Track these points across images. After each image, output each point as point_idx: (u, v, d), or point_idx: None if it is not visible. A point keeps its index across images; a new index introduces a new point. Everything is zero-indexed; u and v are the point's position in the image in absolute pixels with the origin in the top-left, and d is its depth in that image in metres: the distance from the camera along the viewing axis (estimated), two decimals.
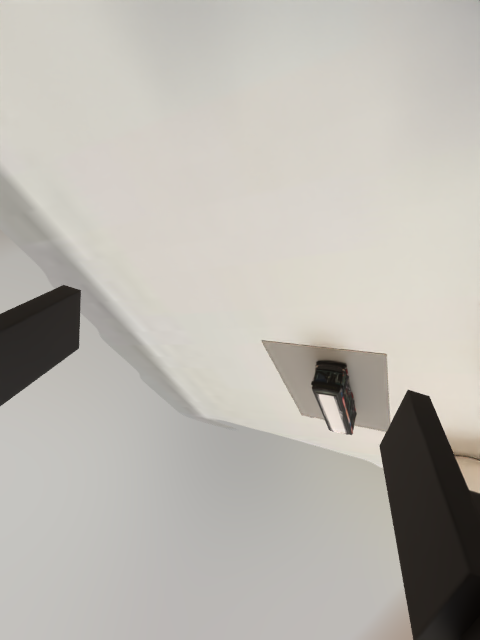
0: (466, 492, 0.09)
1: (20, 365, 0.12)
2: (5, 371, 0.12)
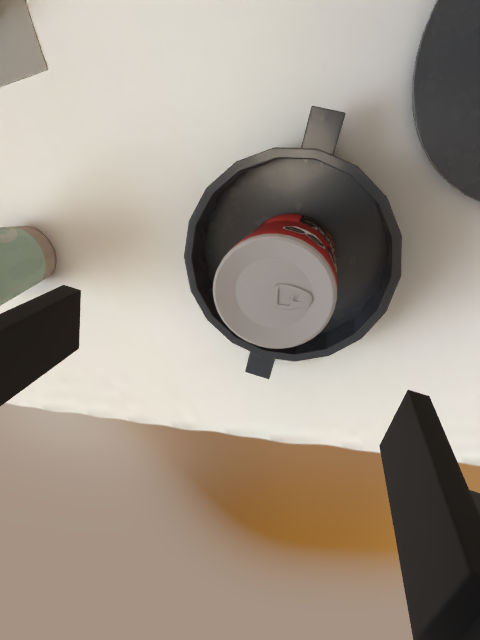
0: (466, 492, 0.09)
1: (20, 365, 0.12)
2: (5, 371, 0.12)
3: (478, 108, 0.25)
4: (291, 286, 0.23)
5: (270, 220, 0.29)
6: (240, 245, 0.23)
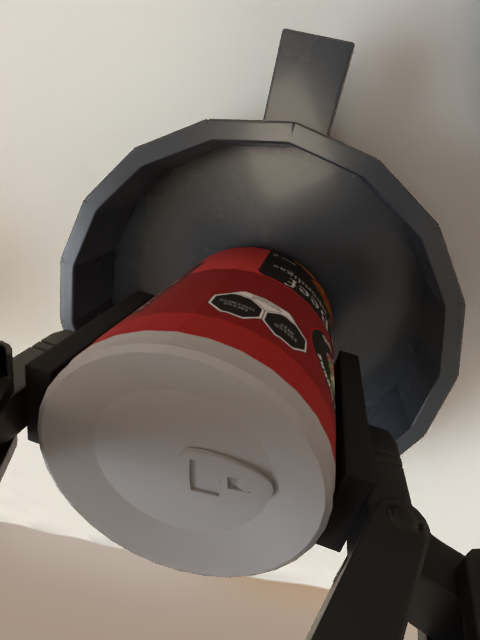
0: (364, 423, 0.11)
1: None
2: None
3: None
4: (221, 456, 0.09)
5: (206, 263, 0.15)
6: (82, 360, 0.09)
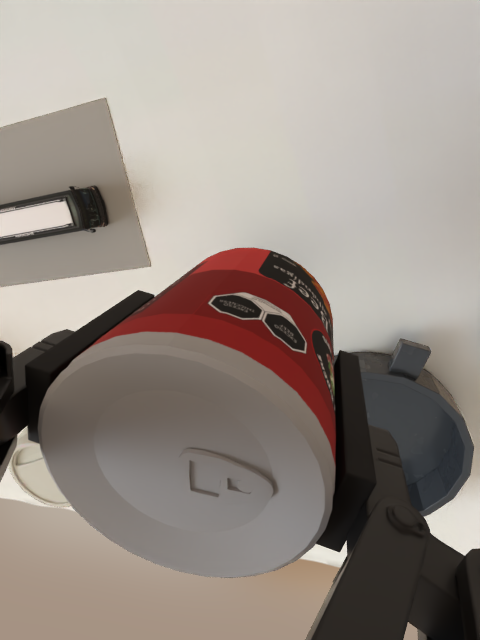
0: (364, 423, 0.11)
1: None
2: None
3: None
4: (222, 457, 0.09)
5: (206, 264, 0.15)
6: (83, 361, 0.09)
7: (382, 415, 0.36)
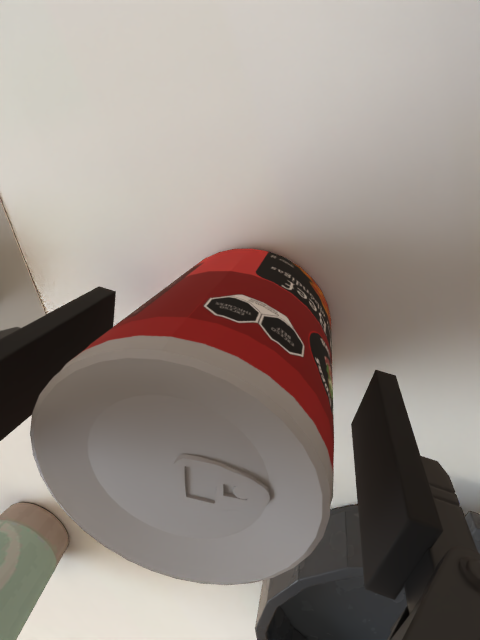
0: (417, 456, 0.10)
1: (64, 363, 0.13)
2: (52, 369, 0.12)
3: None
4: (217, 463, 0.09)
5: (203, 265, 0.15)
6: (75, 365, 0.08)
7: None
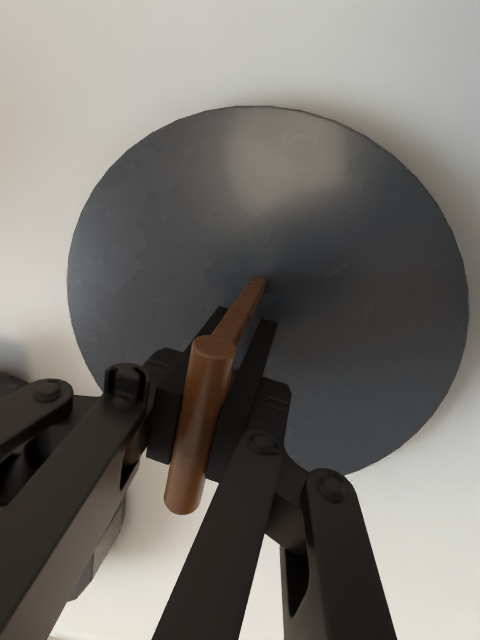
0: (258, 373, 0.12)
1: None
2: None
3: None
4: None
5: None
6: None
7: None
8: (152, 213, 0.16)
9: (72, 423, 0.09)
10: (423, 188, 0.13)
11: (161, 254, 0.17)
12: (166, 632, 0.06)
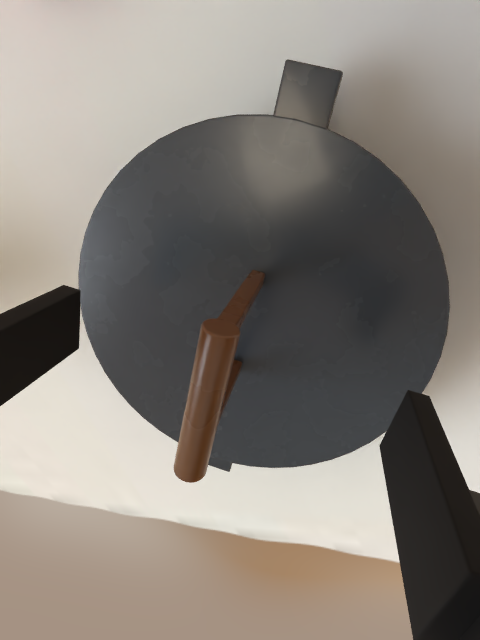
0: (466, 492, 0.09)
1: (20, 365, 0.12)
2: (5, 371, 0.12)
3: (160, 358, 0.21)
4: None
5: None
6: None
7: None
8: (159, 212, 0.17)
9: None
10: (406, 189, 0.15)
11: (167, 250, 0.18)
12: None
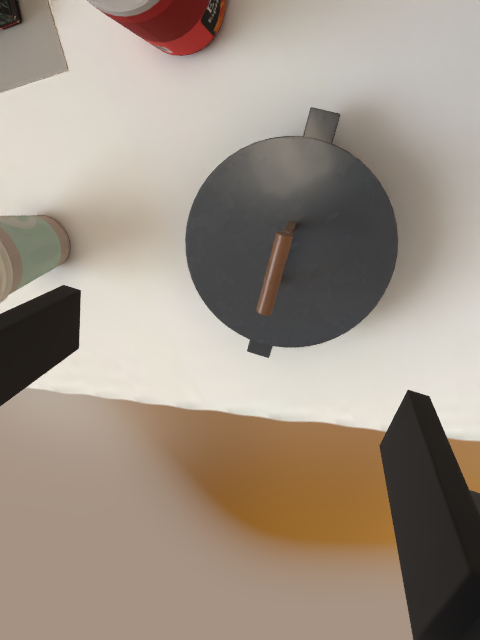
0: (466, 492, 0.09)
1: (20, 365, 0.12)
2: (5, 371, 0.12)
3: (231, 277, 0.35)
4: None
5: None
6: None
7: None
8: (239, 189, 0.31)
9: None
10: (373, 175, 0.29)
11: (242, 210, 0.32)
12: None
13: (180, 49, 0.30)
